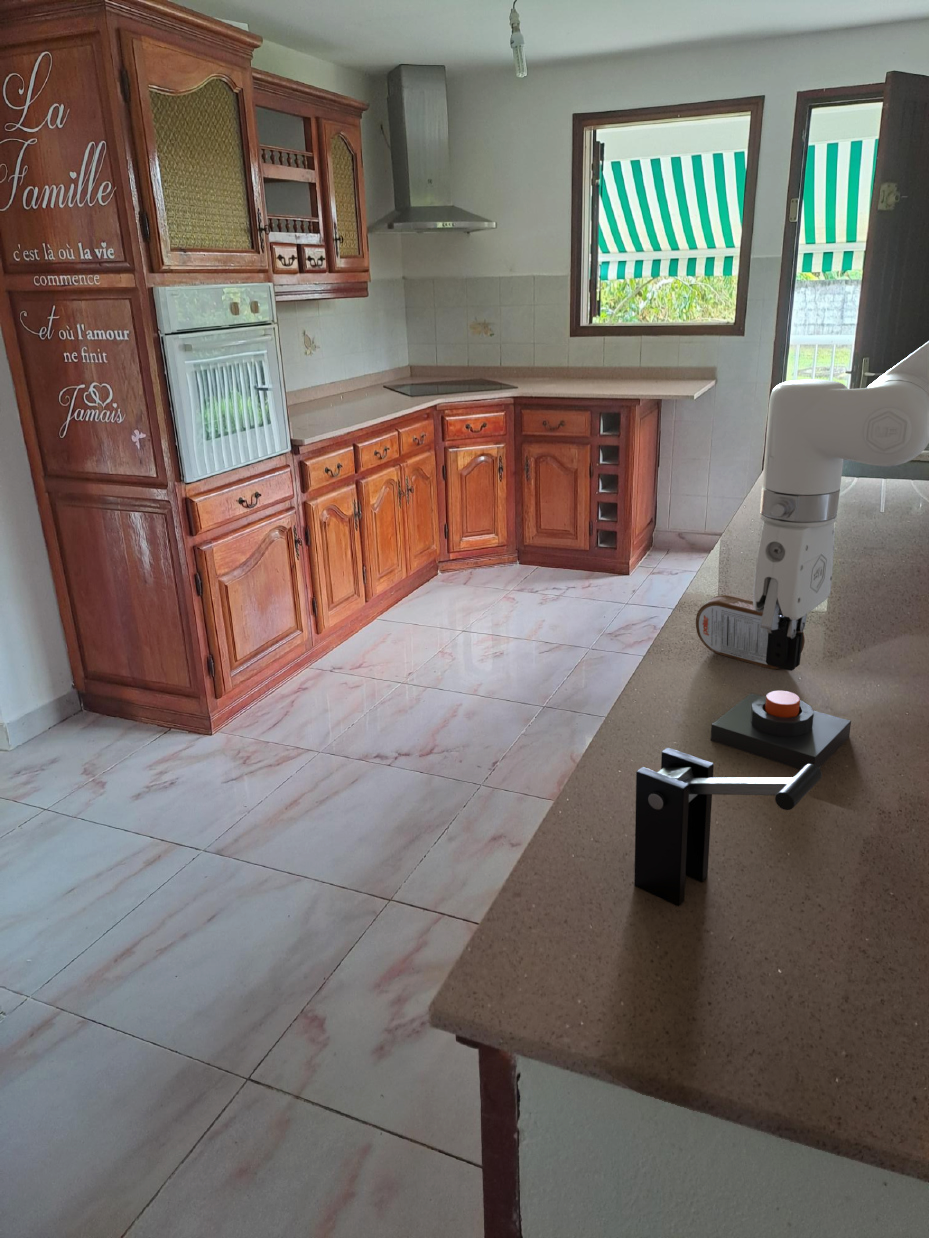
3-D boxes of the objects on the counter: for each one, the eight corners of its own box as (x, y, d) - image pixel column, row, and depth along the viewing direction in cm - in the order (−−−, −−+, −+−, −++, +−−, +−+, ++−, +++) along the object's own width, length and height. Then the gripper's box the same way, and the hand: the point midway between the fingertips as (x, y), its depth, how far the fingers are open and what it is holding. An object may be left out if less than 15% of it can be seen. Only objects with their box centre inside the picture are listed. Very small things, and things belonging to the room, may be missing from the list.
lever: (825, 786, 67) (817, 757, 66) (798, 816, 63) (789, 786, 63) (679, 786, 76) (671, 760, 76) (648, 812, 73) (640, 785, 73)
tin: (803, 669, 117) (808, 611, 114) (792, 678, 115) (797, 618, 112) (702, 642, 127) (705, 588, 124) (691, 649, 125) (693, 594, 122)
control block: (849, 737, 100) (852, 706, 99) (813, 775, 94) (816, 742, 92) (750, 708, 108) (752, 679, 107) (710, 741, 101) (712, 710, 100)
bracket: (752, 892, 77) (762, 765, 72) (702, 949, 71) (709, 815, 66) (643, 845, 84) (646, 726, 79) (589, 893, 78) (588, 768, 73)
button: (804, 709, 100) (805, 695, 99) (790, 721, 97) (791, 707, 96) (773, 701, 102) (774, 687, 101) (759, 712, 99) (760, 698, 99)
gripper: (804, 526, 83) (786, 699, 90) (862, 494, 93) (842, 651, 100) (730, 515, 88) (719, 679, 95) (793, 485, 98) (779, 636, 105)
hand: (782, 665), depth 98 cm, fingers closed
